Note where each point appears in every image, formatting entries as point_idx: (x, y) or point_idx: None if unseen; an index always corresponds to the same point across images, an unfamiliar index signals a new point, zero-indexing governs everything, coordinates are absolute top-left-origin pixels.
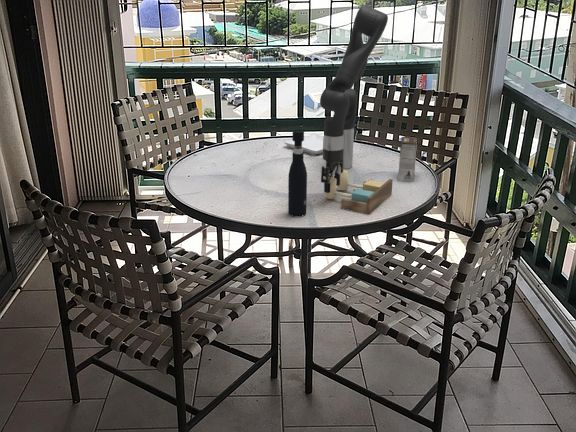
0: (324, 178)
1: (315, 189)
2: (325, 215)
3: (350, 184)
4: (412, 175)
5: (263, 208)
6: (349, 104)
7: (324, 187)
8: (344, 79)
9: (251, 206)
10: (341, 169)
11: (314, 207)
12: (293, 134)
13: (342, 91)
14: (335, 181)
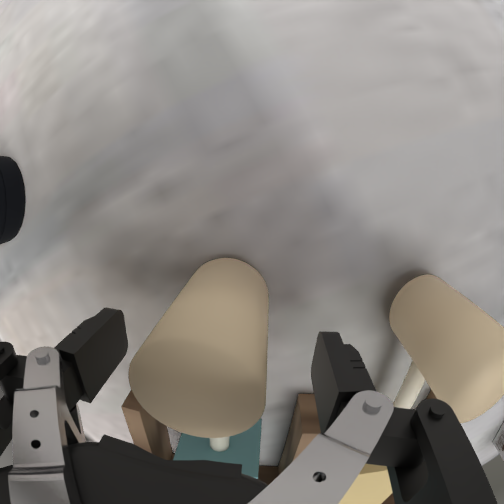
0: (26, 379)
1: (376, 117)
2: (44, 323)
3: (410, 385)
4: (500, 452)
5: (10, 50)
6: None
7: (70, 335)
8: None
9: (23, 9)
10: (392, 485)
11: (74, 242)
12: None
13: None
14: (187, 426)
